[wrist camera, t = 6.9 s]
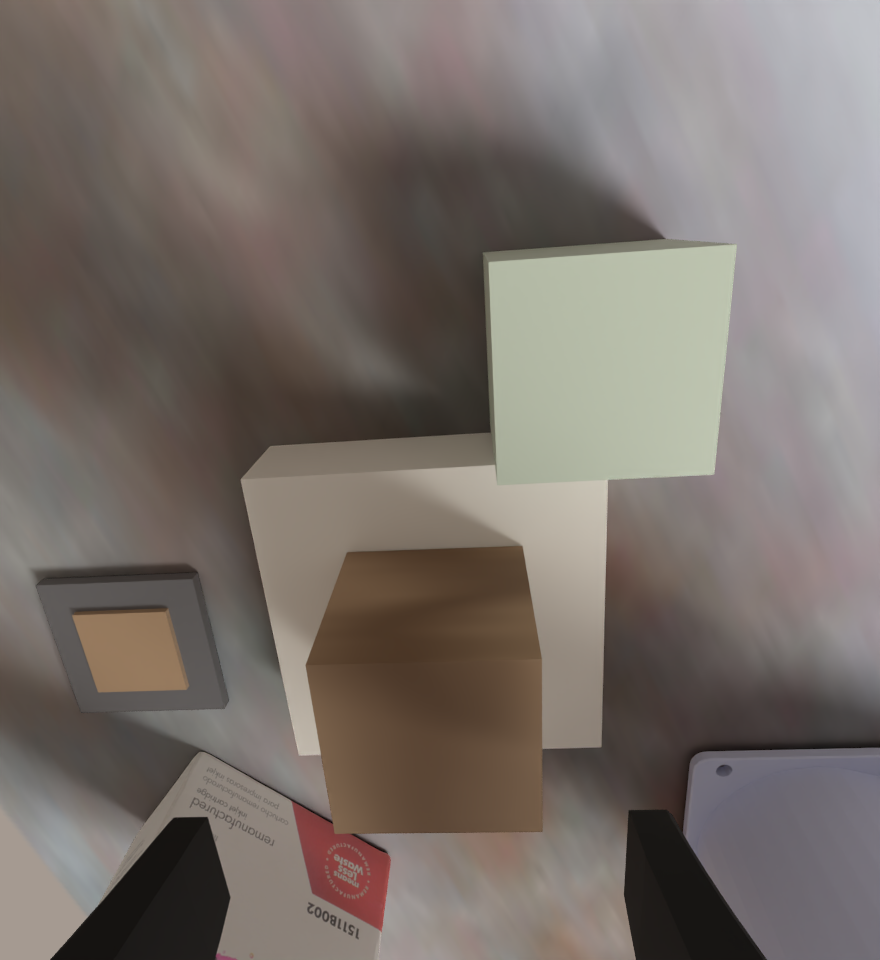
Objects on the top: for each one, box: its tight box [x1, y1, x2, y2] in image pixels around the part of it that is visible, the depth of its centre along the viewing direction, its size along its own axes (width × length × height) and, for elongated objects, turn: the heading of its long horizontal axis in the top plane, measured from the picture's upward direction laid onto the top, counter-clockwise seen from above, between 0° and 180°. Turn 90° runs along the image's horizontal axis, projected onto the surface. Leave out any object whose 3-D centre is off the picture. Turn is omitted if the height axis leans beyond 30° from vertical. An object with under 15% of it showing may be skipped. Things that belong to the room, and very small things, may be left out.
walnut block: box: [305, 546, 542, 834], centre depth 15 cm, size 4×4×4 cm
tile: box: [36, 572, 229, 713], centre depth 20 cm, size 5×5×1 cm
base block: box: [241, 432, 608, 756], centre depth 18 cm, size 9×9×3 cm
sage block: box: [483, 239, 737, 485], centre depth 15 cm, size 4×4×4 cm
